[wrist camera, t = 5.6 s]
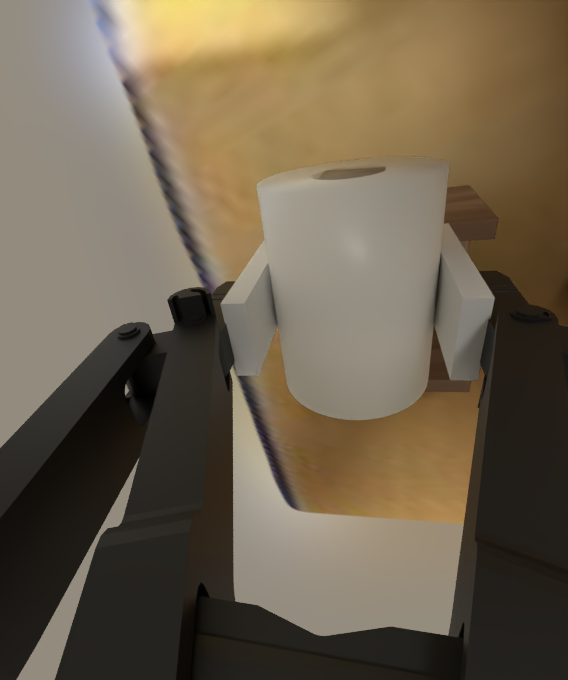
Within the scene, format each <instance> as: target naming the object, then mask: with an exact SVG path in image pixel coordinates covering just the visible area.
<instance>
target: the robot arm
mask: <svg viewBox="0 0 568 680" xmlns="http://www.w3.org/2000/svg"><path fill="white" fill-rule="evenodd" d="M168 304H169V307H170V310H171V313H172V316H173V319H174V322H175V325H174V329H173V330H172V331H168V332H162V333H157V334H152V332H151V329H150V326H149V325H148V324H146V323H143V322H136V323H127V324H124V325H122V326H120V327H119V328H117V329H115V330H114V331H112V332H111V333H110V334H109V335H108V336H107V337H106V338H105V339H104V340H103V341H102V342H101V343H100V344H99V345H98V346H97V347H96V348H95V350H94V351H93V352H92V353H91V354H90V355H89V356H88V357H87V358H86V359H85V360H84V361H83V362H82V363H81V364H80V365H79V366H78V367H77V368H76V369H75V370H74V371H73V373H72V374H71V375H70V376H69V377H68V378H67V379H66V380H65V381H64V382H63V383H62V384H61V385H60V386H59V387H58V388H57V389H56V390H55V391H54V392H53V394H52V395H51V396H50V397H49V398H48V399H47V400H46V401H45V402H44V403H43V404H42V405H41V406H40V407H39V408H38V409H37V411H35V412H34V413H33V415H32V416H31V417H30V418H29V419H28V420H27V421H26V422H25V423H24V424H23V425H22V426H21V427H20V428H19V429H18V430H17V431H16V432H15V434H14V435H13V436H12V437H11V438H10V439H9V440H8V441H7V442H6V443H5V444H4V445H3V446H2V447H1V448H0V680H16V679H17V677H18V676H19V674H20V672H21V670H22V669H23V667H24V665H25V664H26V662H27V660H28V659H29V657H30V655H31V654H32V652H33V650H34V649H35V647H36V645H37V643H38V641H39V640H40V638H41V636H42V634H43V632H44V631H45V629H46V627H47V625H48V623H49V621H50V620H51V618H52V616H53V614H54V612H55V610H56V609H57V607H58V605H59V603H60V601H61V599H62V598H63V596H64V594H65V592H66V590H67V588H68V587H69V585H70V583H71V581H72V579H73V577H74V576H75V574H76V572H77V570H78V568H79V566H80V565H81V563H82V561H83V559H84V557H85V556H86V554H87V552H88V550H89V548H90V546H91V544H92V543H93V541H94V539H95V537H96V535H97V534H98V532H99V530H100V528H101V526H102V524H103V522H104V521H105V519H106V517H107V515H108V513H109V512H110V509H111V508H112V506H113V504H114V502H115V500H116V499H117V497H118V495H119V493H120V491H121V489H122V488H123V486H124V484H125V482H126V480H127V478H128V477H129V475H130V473H131V471H132V469H133V468H134V466H135V464H136V462H137V460H138V458H139V462H138V465H137V469H136V473H135V476H134V480H133V484H132V488H131V492H130V495H129V499H128V503H127V507H126V510H125V514H124V517H123V520H122V523H121V524H120V525H119V526H118V527H113V528H108V529H107V530H106V531H105V532H104V533H103V534H102V535H101V537H100V540H99V542H98V544H97V546H96V549H95V552H94V555H93V559H92V562H91V565H90V568H89V571H88V574H87V578H86V581H85V584H84V587H83V591H82V594H81V597H80V601H79V604H78V607H77V610H76V613H75V617H74V620H73V623H72V626H71V630H70V633H69V636H68V639H67V642H66V646H65V649H64V652H63V655H62V659H61V662H60V665H59V668H58V672H57V675H56V678H55V680H568V327H565V326H560V325H558V319H557V317H556V315H555V314H554V313H552V312H551V311H549V310H547V309H545V308H542V307H539V306H534V305H529V304H528V302H527V301H526V300H525V299H524V297H523V296H522V295H521V293H520V292H518V289H517V288H516V287H515V286H513V283H512V282H511V280H510V279H509V278H508V277H507V276H505V275H503V274H501V273H500V272H498V271H478V270H477V268H476V267H475V265H474V263H473V262H472V260H471V259H470V257H469V255H468V254H467V252H466V251H465V249H464V247H463V246H462V244H461V243H460V241H459V239H458V238H457V236H456V235H455V233H454V231H453V230H452V228H451V227H450V225H449V223H445V224H444V225H443V235H442V245H441V256H440V266H439V276H438V286H437V296H436V306H435V316H434V326H435V330H436V333H437V336H438V340H439V343H440V347H441V350H442V354H443V357H444V361H445V364H446V367H447V371H448V374H449V378H450V380H469V381H478V377H479V372H480V367H481V366H482V369H483V371H484V373H485V377H484V381H483V386H482V390H481V395H480V399H479V404H478V408H479V415H478V422H477V430H476V437H475V445H474V452H473V460H472V467H471V475H470V482H469V490H468V497H467V505H466V512H465V520H464V527H463V535H462V542H461V551H460V557H459V565H458V572H457V580H456V588H455V595H454V603H453V610H452V618H451V624H450V629H449V635H448V636H446V635H440V634H433V633H427V632H420V631H414V630H409V629H402V628H396V627H385V628H378V629H372V630H365V631H358V632H351V633H344V634H337V635H331V636H318V635H315V634H313V633H310V632H309V631H307V630H305V629H303V628H301V627H299V626H297V625H295V624H293V623H291V622H289V621H287V620H285V619H283V618H281V617H279V616H277V615H275V614H273V613H271V612H269V611H268V610H265V609H264V608H262V607H259V606H257V605H252V604H246V603H239V602H235V596H234V583H233V417H232V416H233V413H232V412H233V408H232V404H233V403H232V402H233V400H232V399H233V397H232V378H231V374H230V369H231V367H232V365H233V363H234V364H235V369H236V373H237V375H238V376H259V374H260V371H261V368H262V366H263V363H264V360H265V358H266V355H267V352H268V350H269V347H270V344H271V342H272V339H273V336H274V334H275V331H276V328H277V326H278V323H277V317H276V310H275V304H274V297H273V291H272V284H271V278H270V271H269V265H268V258H267V252H266V245H265V239H264V241H263V242H262V244H261V245H260V246H259V248H258V249H257V251H256V252H255V254H254V255H253V257H252V258H251V260H250V261H249V263H248V264H247V266H246V267H245V268H244V270H243V271H242V273H241V274H240V276H239V277H238V279H237V280H236V281H230V282H225V283H224V284H222V285H221V286H219V287H217V289H216V290H215V291H214V293H213V295H211V293H210V290H208V289H206V288H201V287H196V288H188V289H184V290H181V291H179V292H176V293H174V294H173V295H171V296H170V297H169V299H168ZM125 385H127V387H128V389H129V392H128V393H127V395H126V396H125Z"/></svg>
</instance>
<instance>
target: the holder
mask: <svg viewBox="0 0 568 680" xmlns="http://www.w3.org/2000/svg"><path fill="white" fill-rule="evenodd" d="M445 223H449V225H450V227H451V228H452V230H453V231H454V233H455V235H456V236H457V238H458V239H459V241H460V243H461V244H462V246H463V247H464V249H465V251H466V252H467V251H468V244H469V241H472V240H486V239H495V235H496V229H497V223H498V218H497V217H496V215H495V214H494V213H493V212H492V211H491V210H490V209H489V207H488V206H487V205H486V204H485V203H484V202H483V201H482V200H481V198H480V197H479V196H478V195H477V194H476V193H475V192H474V190H473V189H472V188H471V187H470V186H460V187H450V188H447V195H446V205H445V215H444V224H445ZM470 384H471V381H469V380H450V378H449V374H448V371H447V367H446V364H445V361H444V357H443V354H442V350H441V347H440V343H439V340H438V336H437V333H436V330H435V326H434V327H433V337H432V347H431V357H430V367H429V377H428V384H427V387H426V389H425V391H438V392H469V390H470Z"/></svg>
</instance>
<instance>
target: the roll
mask: <svg viewBox="0 0 568 680" xmlns="http://www.w3.org/2000/svg"><path fill="white" fill-rule="evenodd" d="M448 174H449V162H447V161H445V160H443V159H438V158H432V157H416V156H401V157H378V158H366V159H355V160H347V161H339V162H332V163H325V164H319V165H313V166H308V167H303V168H298V169H294V170H290V171H286V172H282V173H279V174H275V175H272V176H270V177H267V178H265V179H263V180H261V181H260V182H258V183H257V193H258V199H259V206H260V212H261V219H262V226H263V232H264V239H265V245H266V252H267V258H268V265H269V271H270V278H271V284H272V291H273V297H274V304H275V310H276V317H277V323H278V330H279V336H280V343H281V349H282V356H283V363H284V369H285V376H286V382H287V386H288V389H289V391H290V392H291V394H292V395H293V396H294V398H295V399H296V400H297V401H298V402H300V403H301V404H302V405H303V406H305V407H307V408H308V409H310V410H312V411H314V412H316V413H319V414H322V415H325V416H328V417H332V418H337V419H344V420H370V419H377V418H382V417H386V416H390V415H393V414H395V413H398V412H400V411H402V410H404V409H406V408H408V407H409V406H411V405H412V404H414V403H415V402H416V401H417V400H418V399H419V398H420V397H421V396H422V394H423V393H424V391H425V389H426V387H427V384H428V377H429V367H430V357H431V347H432V337H433V327H434V316H435V306H436V296H437V286H438V276H439V266H440V256H441V245H442V235H443V225H444V215H445V205H446V195H447V184H448Z"/></svg>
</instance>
